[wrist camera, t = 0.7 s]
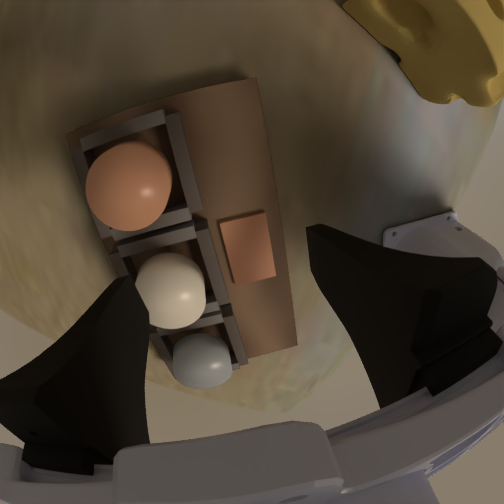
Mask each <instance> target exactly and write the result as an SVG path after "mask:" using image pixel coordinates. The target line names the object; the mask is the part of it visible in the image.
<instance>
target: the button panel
mask: <svg viewBox="0 0 504 504" xmlns="http://www.w3.org/2000/svg"><path fill="white" fill-rule="evenodd" d="M66 138H67V141H68V145H69V148H70V152H71V156H72V159H73V162H74V166H75V169H76V172H77V175H78V178H79V181H80V184H81V187H82V190H83V192H84V195H85V198H86V201H87V197H86V179H87V175H88V172H89V170H90V168H91V166H92V164H93V163H94V161H95V160H96V159H97V158H98V157H99V156H100V155H102V154H103V153H104V152H106V151H108V150H109V149H111V148H113V147H115V146H116V145H118V144H121V143H123V142H127V141H143V142H147V143H149V144H152V145H153V146H155V147H157V148H158V149H159V150H160V151H161V152H162V153H163V154H164V155H165V157H166V158H167V160H168V162H169V164H170V166H171V170H172V178H173V179H172V187H171V191H170V195H169V198H168V202H167V205H166V207H165V209H164V211H163V212H162V214H161V215H160V216H159V218H158V219H157V220H156V221H154V222H153V223H152V224H150V225H149V226H147V227H145V228H142V229H139V230H135V231H122V230H117V229H114V228H111V227H109V226H107V225H106V224H104V223H103V222H102V221H100V220H99V219H98V218H97V217H96V215H95V214H94V213H93V211H92V210H91V208H90V206H89V204H88V206H89V209H90V211H91V214H92V217H93V219H94V222H95V224H96V227H97V229H98V232H99V234H100V237H101V239H102V241H103V243H104V245H105V248H106V250H107V252H108V255H109V257H110V260H111V262H112V264H113V266H114V268H115V271H116V273H117V275H118V277H119V278H120V277H123V276H127V275H130V276H131V278H132V280H133V282H134V284H135V283H136V279H137V275H138V272H139V269H140V267H141V266H142V264H143V263H144V262H145V261H146V260H147V259H149V258H150V257H152V256H154V255H157V254H160V253H178V254H181V255H184V256H186V257H188V258H190V259H191V260H193V261H194V262H195V263H196V264H197V265H198V266H199V268H200V269H201V271H202V273H203V276H204V285H205V298H206V305H205V309H204V311H203V313H202V315H201V316H200V317H199V319H197V320H196V321H195V322H194V323H192V324H190V325H188V326H186V327H182V328H178V329H165V328H160V327H157V326H154V325H152V324H150V335H149V336H150V338H151V340H152V342H153V343H154V345H155V347H156V349H157V350H158V352H159V354H160V355H161V357H162V359H163V360H164V362H165V364H166V365H167V367H168V368H169V370H170V372H171V373H172V375H173V376H174V374H173V349H174V346H175V344H176V343H177V342H178V341H179V340H180V339H182V338H183V337H185V336H188V335H191V334H196V333H206V334H212V335H215V336H217V337H219V338H221V339H222V340H224V341H225V342H226V344H227V345H228V348H229V353H230V359H231V365H232V370H236V369H240V366H241V365H245V364H248V360H247V359H248V358H252V357H256V356H260V355H264V354H268V353H271V352H275V351H279V350H282V349H286V348H289V347H293V346H296V345H298V344H297V335H296V327H295V319H294V310H293V302H292V295H291V287H290V279H289V272H288V265H287V257H286V250H285V243H284V237H283V230H282V223H281V216H280V210H279V203H278V197H277V191H276V185H275V178H274V172H273V166H272V160H271V154H270V149H269V143H268V137H267V132H266V126H265V120H264V115H263V110H262V104H261V99H260V94H259V88H258V83H257V78H251V79H245V80H239V81H233V82H228V83H223V84H218V85H213V86H208V87H204V88H200V89H195V90H191V91H187V92H183V93H179V94H176V95H172V96H168V97H165V98H161V99H158V100H155V101H151V102H148V103H145V104H142V105H139V106H136V107H133V108H130V109H127V110H124V111H121V112H118V113H116V114H113V115H110V116H108V117H105V118H102V119H100V120H97V121H95V122H92V123H90V124H88V125H85V126H83V127H80V128H78V129H76V130H74V131H71V132H69V133H67V134H66ZM87 203H88V201H87ZM174 378H175V377H174ZM175 379H176V378H175Z"/></svg>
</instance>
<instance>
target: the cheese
mask: <svg viewBox="0 0 504 504" xmlns="http://www.w3.org/2000/svg"><path fill="white" fill-rule="evenodd" d="M342 8H343V9H344V10H345V11H346V12H347V13H349V14H350V15H351V16H352V17H353V18H354V19H355V20H356V21H357V22H358V23H359V24H360V25H362V26H363V27H364V28H365V29H366V30H367V31H368V32H369V33H370V34H371V35H372V36H373V37H374V38H375V39H376V40H377V41H378V42H379V43H381V44H383V45H384V46H386V47H388V48H390V49H392V50H393V51H394V52H396V53H397V54H398V55H399V57H400V58H401V61H400V62H399V66H400V68H401V69H402V70H403V72H404V73H405V74H406V76H407V77H408V79H409V80H410V81H411V82H412V84H413V86H414V87H415V89H416V90H417V92H418V93H419V95H420V96H421V97H422V98H423V99H425V100H427V101H429V102H432V103H437V104H450V103H451V102H453V101H455V100H457V99H460V98H463V99H464V100H465V101H466V102H467V103H468V104H469V105H472V106H478V107H490V106H493V105H496V104H497V103H498V101H499V100H500V99H501V98H503V97H504V0H347V1H346V2H345V3H344V4H343V5H342Z"/></svg>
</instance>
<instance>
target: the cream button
mask: <svg viewBox="0 0 504 504" xmlns="http://www.w3.org/2000/svg"><path fill="white" fill-rule="evenodd" d="M135 286H136V288H137V290H138V292H139V294H140V296H141V298H142V300H143V302H144V304H145V306H146V307H147V309H148V311H149V319H150V324H152V325H154V326H157V327H160V328H165V329H178V328H182V327H186V326H188V325H190V324H192V323H194V322H195V321H196V320H197V319H199V317H200V316H201V315H202V313H203V311H204V309H205V305H206V298H205V285H204V276H203V273H202V271H201V269H200V268H199V266H198V265H197V264H196V263H195V262H194V261H193V260H191V259H190V258H188V257H186V256H184V255H181V254H178V253H160V254H157V255H154V256H152V257H150V258H149V259H147V260H146V261H145V262H144V263H143V264H142V266H141V267H140V269H139V272H138V275H137V279H136V283H135Z"/></svg>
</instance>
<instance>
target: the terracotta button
mask: <svg viewBox="0 0 504 504" xmlns="http://www.w3.org/2000/svg"><path fill="white" fill-rule="evenodd" d="M172 179H173V178H172V170H171V166H170V164H169V162H168V160H167V158H166V157H165V155H164V154H163V153H162V152H161V151H160V150H159V149H158V148H157V147H155V146H153V145H152V144H149V143H147V142H143V141H127V142H123V143H121V144H118V145H116V146H115V147H113V148H111V149H109V150H108V151H106V152H104V153H103V154H102V155H100V156H99V157H98V158H97V159H96V160H95V161H94V163H93V164H92V166H91V168H90V170H89V172H88V175H87V179H86V197H87V201H88V204H89V206H90V208H91V210H92V211H93V213H94V214H95V215H96V217H97V218H98V219H99V220H100V221H102V222H103V223H104V224H106V225H107V226H109V227H111V228H114V229H117V230H122V231H135V230H139V229H142V228H145V227H147V226H149V225H150V224H152V223H153V222H154V221H156V220H157V219H158V218H159V216H160V215H161V214H162V212H163V211H164V209H165V207H166V205H167V202H168V198H169V195H170V191H171V187H172Z"/></svg>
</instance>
